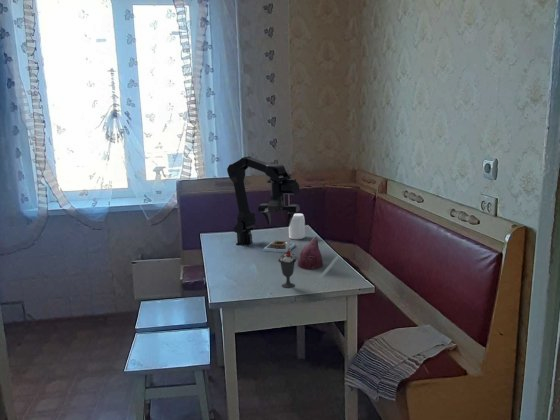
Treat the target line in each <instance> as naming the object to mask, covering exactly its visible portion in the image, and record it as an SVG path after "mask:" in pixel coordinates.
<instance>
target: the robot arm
mask: <svg viewBox="0 0 560 420" xmlns="http://www.w3.org/2000/svg"><path fill="white" fill-rule="evenodd" d="M227 166H228V167H227V168H226V171H227V175H228V177H229V179H230V180H231V182H232V183H233V188H234V194H235V197H236V203H237V207H238V215H237V218H236V219H237V222H236V223H237V224H235V226H234V227H233V231H234V233H235V234H236V239H237V241H236V243H235V245H239V246H249V245H251V244H252V243H253V242H254V241H253V234H252V231H253V230H254V227H255V225H256V221H257V219H256V215H255V213H254V212H252V211H251V210H250V207H249V203H248V197H247V192H246V188H245V177H246V171H247V169H249V168H250V169H254V170H257V171H260V172H263V173H264V174H265V175H266V176H267V177H268V178H269V179H268V180H267V182H266V183H268V184H270V185H271V195H270V201H269V202H268V203H260V204H259V205H258V206H257V212H258V213H259V212H260V214H262V215H263V216H264V218H265V220H266V222H267V224H268V227H271V225H272V224H271V223H272V219H271V218H272V217H271V216H272V215H271V213H272V212H273V213H278V212H279V211H287V214H286V215H287V228H289V226H290V223H291V220H292V218H293V216H294V214H295V213H298V212H299V211H300V210H301V209H300V205H299V204H296V203H295V204H294V203H293V204H292V203H291V204H289V205H287V206H286V203H285V197H286V195H294V196H295V195H298V193H299V191H300V185H299V182H297V179H296V178H291V177H290V175H289V173H288V172H287V170H286V168H285V166H284V165H283V164H278V163H268V162H265V161H263V160H259V159H256V158H254V157H252V156H250V155H248V156H243V157H241V158H240V159H239V160H237V161H235V162H234V163H232V164H229V165H227Z"/></svg>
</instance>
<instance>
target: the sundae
mask: <svg viewBox="0 0 560 420" xmlns="http://www.w3.org/2000/svg"><path fill="white" fill-rule="evenodd" d="M289 250H290V248H289V249H288V252H283V254H282V255H283V257H282V258H281V257H280V258H278V262H279V264H280V267H281V272H282V275H283V276H284V277H285V279H286V280H285V283H283V284H281V287H282V288H283V289H291V288H295V286H296V285H295V284H294V282H293V283H292V282H291V280H290V277H292V275H293V274H294V271H295V263H296V262H297V258H296V257H295V258H294V257H293V256H292V252H291V250H290V251H289Z"/></svg>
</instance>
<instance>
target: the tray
mask: <svg viewBox="0 0 560 420" xmlns="http://www.w3.org/2000/svg"><path fill="white" fill-rule="evenodd" d="M273 242H274V241H271V242H270V243H269V244H268V245H266V246H264V247H263V251H264V252H275V253H285V252H286V249H273V248H271V245H270V244H271V243H273ZM294 247H296V243H295V242H290V251H291V250H292V249H293V248H294Z"/></svg>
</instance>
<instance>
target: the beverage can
mask: <svg viewBox="0 0 560 420" xmlns="http://www.w3.org/2000/svg"><path fill="white" fill-rule="evenodd" d="M288 237H289V238H290V239H291V240H303V239H304V238H306V221H305V215H304V214H303V213H300V212H299V213H298V212H296V213H295V214H294V216H293V218H292V220H291V223H290V226H289V227H288Z"/></svg>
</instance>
